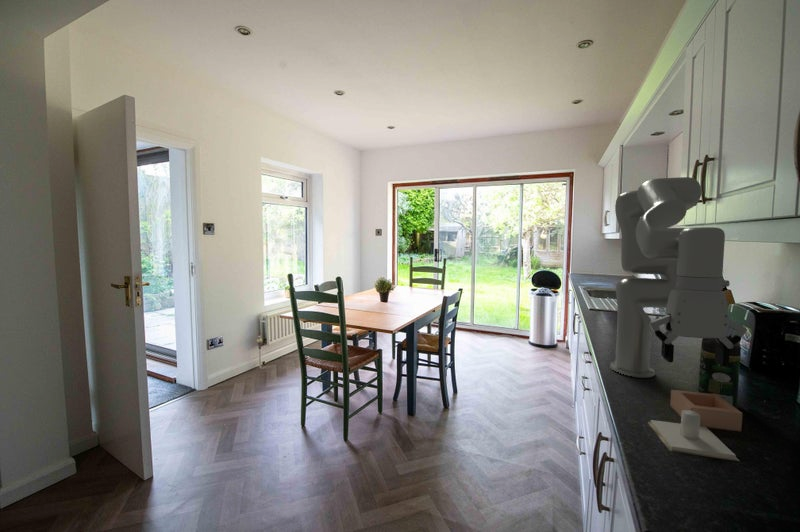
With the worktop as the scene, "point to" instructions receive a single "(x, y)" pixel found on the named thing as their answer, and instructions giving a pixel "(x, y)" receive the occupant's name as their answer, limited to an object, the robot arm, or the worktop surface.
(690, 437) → the lid
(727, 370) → the coffee jar
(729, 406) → the dish
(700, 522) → the worktop surface
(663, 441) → the mat
